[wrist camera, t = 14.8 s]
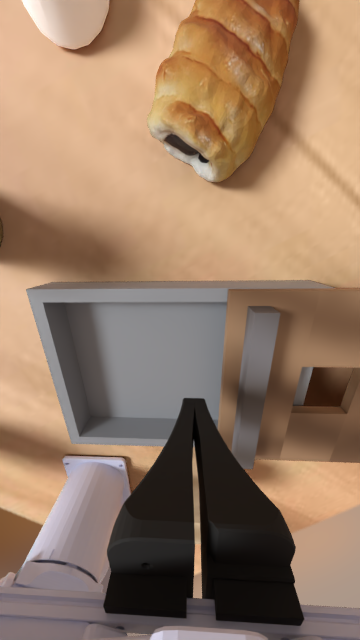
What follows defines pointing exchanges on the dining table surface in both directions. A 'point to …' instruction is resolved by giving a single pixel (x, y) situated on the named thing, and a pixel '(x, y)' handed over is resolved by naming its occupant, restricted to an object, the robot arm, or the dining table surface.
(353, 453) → the lid
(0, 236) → the olive pawn figure
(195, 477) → the block
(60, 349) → the shallow grey box
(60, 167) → the dining table surface
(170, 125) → the pastry
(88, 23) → the white upturned bowl
